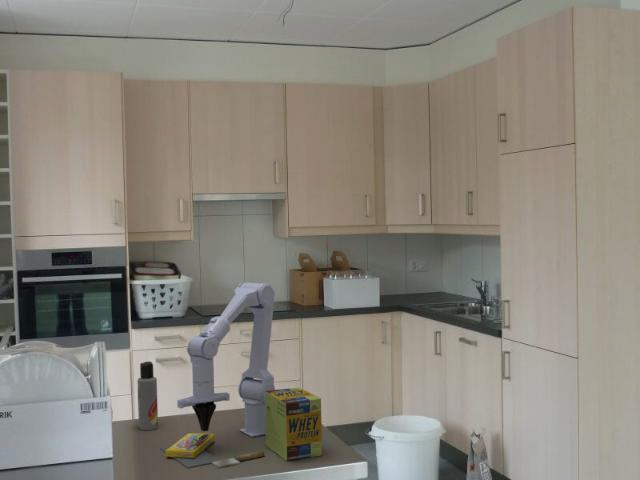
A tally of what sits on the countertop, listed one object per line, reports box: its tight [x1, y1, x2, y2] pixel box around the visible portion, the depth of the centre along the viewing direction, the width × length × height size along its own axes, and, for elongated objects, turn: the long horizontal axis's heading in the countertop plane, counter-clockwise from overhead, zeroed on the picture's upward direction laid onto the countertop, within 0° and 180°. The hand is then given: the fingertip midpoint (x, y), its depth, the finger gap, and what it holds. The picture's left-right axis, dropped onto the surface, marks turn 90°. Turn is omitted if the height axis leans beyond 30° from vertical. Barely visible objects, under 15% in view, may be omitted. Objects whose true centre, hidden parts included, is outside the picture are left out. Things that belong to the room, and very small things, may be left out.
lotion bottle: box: [137, 361, 159, 431], centre depth 239 cm, size 6×6×20 cm
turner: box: [212, 450, 265, 469], centre depth 207 cm, size 14×4×1 cm, turn 122°
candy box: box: [164, 432, 216, 458], centre depth 217 cm, size 16×2×8 cm
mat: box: [159, 444, 220, 469], centre depth 213 cm, size 9×20×1 cm, turn 32°
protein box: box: [265, 387, 323, 462], centre depth 215 cm, size 10×15×16 cm
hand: (204, 430), depth 215 cm, fingers closed
